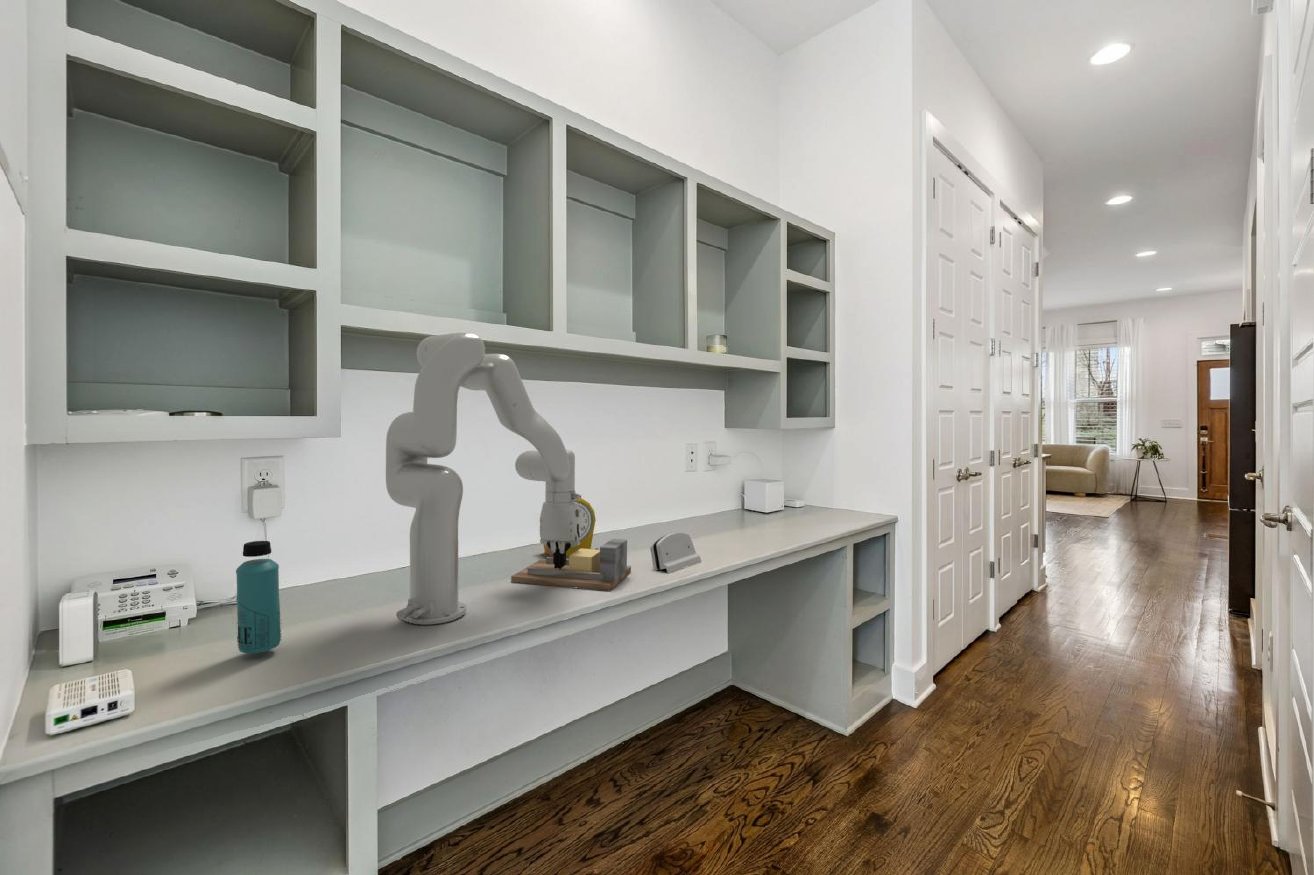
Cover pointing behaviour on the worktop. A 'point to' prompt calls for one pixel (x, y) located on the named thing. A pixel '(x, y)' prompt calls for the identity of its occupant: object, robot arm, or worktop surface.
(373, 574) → the worktop surface
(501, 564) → the worktop surface
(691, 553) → the hinge
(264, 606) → the beverage bottle
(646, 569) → the worktop surface
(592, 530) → the alarm clock
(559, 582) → the base
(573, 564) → the block
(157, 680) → the worktop surface
